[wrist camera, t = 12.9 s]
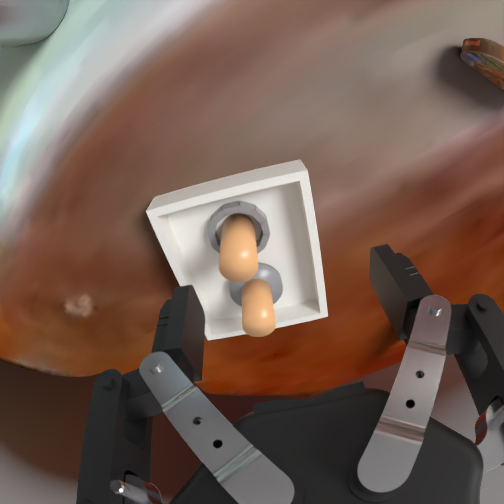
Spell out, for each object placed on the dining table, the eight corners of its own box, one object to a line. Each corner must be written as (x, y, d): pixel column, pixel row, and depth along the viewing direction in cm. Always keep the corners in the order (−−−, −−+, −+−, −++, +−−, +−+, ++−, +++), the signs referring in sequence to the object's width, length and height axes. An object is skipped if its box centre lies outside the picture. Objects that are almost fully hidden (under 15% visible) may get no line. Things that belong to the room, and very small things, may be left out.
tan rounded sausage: (227, 245, 39) (225, 285, 32) (217, 218, 36) (213, 255, 30) (258, 237, 38) (262, 277, 32) (250, 209, 36) (253, 245, 29)
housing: (209, 321, 48) (206, 367, 40) (154, 196, 36) (132, 233, 28) (322, 298, 46) (335, 342, 38) (300, 159, 34) (318, 187, 26)
